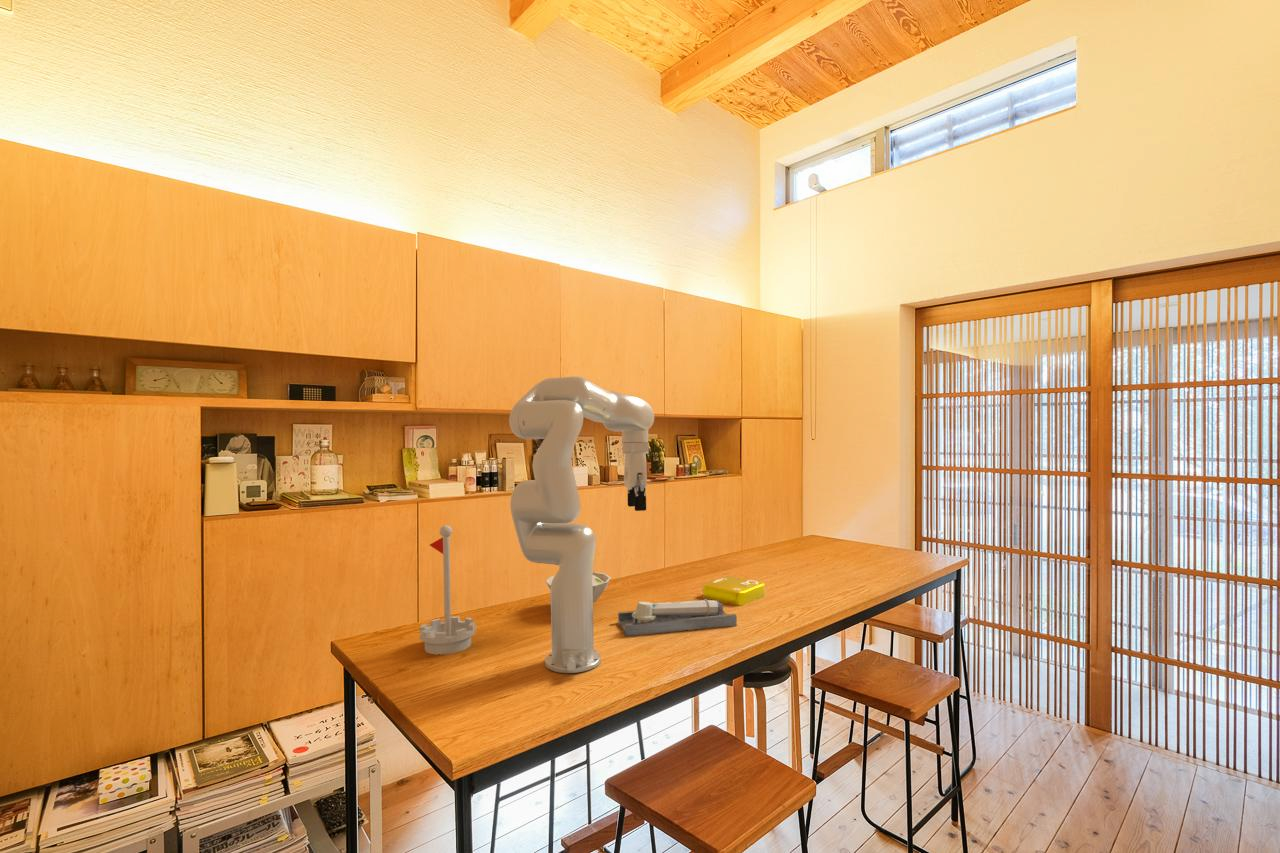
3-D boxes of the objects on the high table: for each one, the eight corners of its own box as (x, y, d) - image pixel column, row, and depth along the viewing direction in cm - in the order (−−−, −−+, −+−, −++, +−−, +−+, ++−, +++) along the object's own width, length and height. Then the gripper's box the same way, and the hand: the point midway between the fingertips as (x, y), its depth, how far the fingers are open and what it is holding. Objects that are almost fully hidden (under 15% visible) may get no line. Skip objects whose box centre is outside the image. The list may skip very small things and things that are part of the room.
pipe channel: (736, 625, 156) (736, 615, 156) (626, 636, 149) (626, 625, 149) (721, 612, 167) (721, 603, 167) (618, 622, 160) (618, 612, 160)
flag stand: (485, 639, 149) (483, 522, 149) (453, 658, 137) (450, 530, 137) (443, 634, 154) (441, 520, 154) (408, 652, 141) (406, 528, 142)
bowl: (589, 596, 187) (589, 564, 187) (624, 610, 171) (623, 576, 171) (534, 608, 175) (534, 574, 176) (566, 624, 160) (565, 587, 160)
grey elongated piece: (722, 602, 160) (638, 601, 151) (719, 627, 160) (635, 627, 150) (712, 597, 165) (631, 596, 156) (710, 621, 165) (628, 622, 155)
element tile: (728, 588, 194) (727, 574, 194) (767, 596, 184) (767, 581, 184) (700, 598, 183) (699, 583, 183) (740, 607, 173) (740, 591, 173)
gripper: (617, 448, 175) (618, 505, 175) (628, 449, 158) (630, 513, 158) (641, 447, 177) (642, 504, 177) (655, 449, 160) (656, 511, 160)
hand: (636, 508), depth 167 cm, fingers open, 9 cm apart
